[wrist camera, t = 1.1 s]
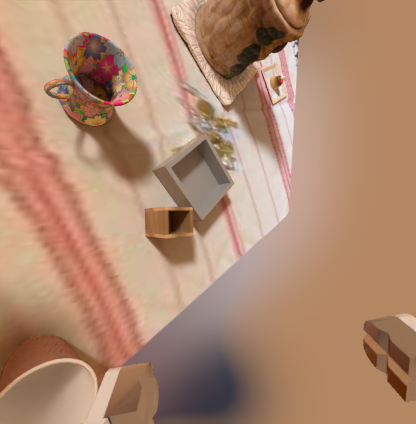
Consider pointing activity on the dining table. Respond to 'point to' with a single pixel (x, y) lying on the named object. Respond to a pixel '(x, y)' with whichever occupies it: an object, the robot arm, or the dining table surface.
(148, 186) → the dining table surface
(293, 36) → the cookie jar
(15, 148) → the dining table surface
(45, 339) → the coffee cup
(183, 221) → the square wooden cup
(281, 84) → the dessert
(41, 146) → the dining table surface
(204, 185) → the grey crate
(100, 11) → the dining table surface
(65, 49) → the mug
